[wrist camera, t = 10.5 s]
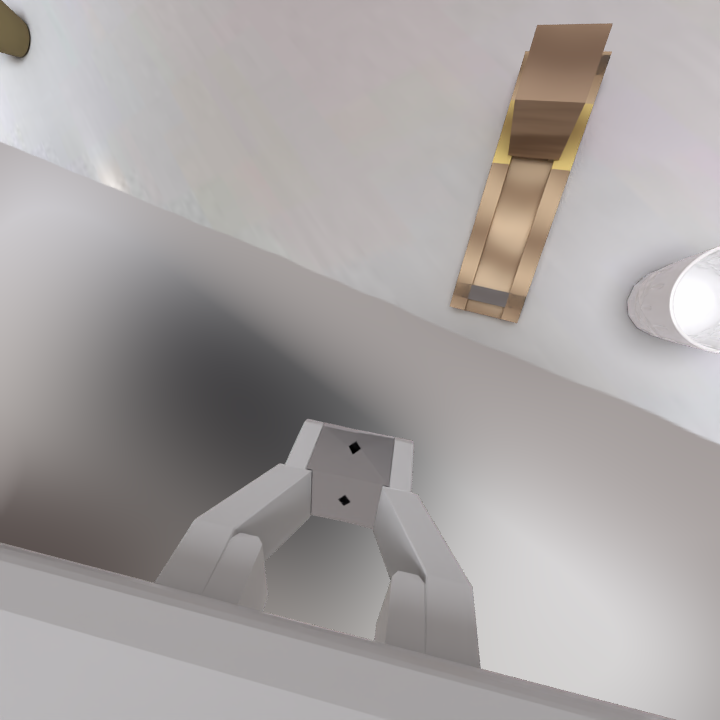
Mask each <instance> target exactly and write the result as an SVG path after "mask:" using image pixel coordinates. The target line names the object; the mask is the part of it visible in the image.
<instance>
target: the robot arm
mask: <svg viewBox="0 0 720 720" xmlns="http://www.w3.org/2000/svg"><path fill="white" fill-rule="evenodd" d="M413 451H414V442H413V440H408V439H403V438H398V437H395V438H394V437H393V436H388V435H383V434H377V433H372V432H367V431H362V430H355V429H351V428H347V427H342V426H338V425H334V424H330V423H324V422H319V421H315V420H310V419H307V420H306V421H305V422H304V424H303V426H302V428H301V431H300V433H299V435H298V437H297V440H296V442H295V444H294V446H293V448H292V450H291V453H290V455H289V457H288V459H287V461H286V463H285V465H284V464H278V465H277V466H275V467H274V468H272V469H271V470H269V471H268V472H266V473H264V474H263V475H262V476H260V477H258V478H257V479H255V480H254V481H252V482H251V483H249V484H248V485H246V486H245V487H243V488H242V489H240V490H239V491H237V492H236V493H234V494H233V495H231V496H230V497H228V498H227V499H225V500H224V501H222V502H220V503H219V504H217V505H216V506H215V507H213V508H211V509H210V510H209V511H207V512H205V513H204V514H202V515H201V516H199V517H198V518H196V519H195V520H194V522H193V523H192V525H191V526H190V528H189V530H188V531H187V532H186V534H185V536H184V537H183V539H182V540H181V542H180V543H179V546H178V547H177V548H176V550H175V551H174V553H173V554H172V556H171V558H170V559H169V561H168V562H167V564H166V565H165V567H164V568H163V570H162V572H161V573H160V575H159V576H158V578H157V579H156V581H155V582H154V583H152V582H148V581H144V580H141V579H137V578H133V577H129V576H126V575H122V574H118V573H114V572H110V571H106V570H103V569H99V568H95V567H91V566H87V565H84V564H79V563H76V562H72V561H68V560H64V559H60V558H57V557H53V556H49V555H45V554H42V553H37V552H34V551H30V550H26V549H22V548H19V547H15V546H11V545H7V544H3V543H0V720H675V719H671V718H667V717H663V716H660V715H656V714H652V713H648V712H644V711H640V710H637V709H632V708H628V707H625V706H621V705H618V704H614V703H610V702H606V701H602V700H599V699H595V698H591V697H587V696H583V695H579V694H576V693H571V692H568V691H564V690H560V689H556V688H553V687H549V686H545V685H541V684H538V683H533V682H529V681H526V680H522V679H518V678H515V677H510V676H507V675H503V674H499V673H495V672H492V671H488V670H484V669H481V668H480V658H479V648H478V638H477V628H476V618H475V608H474V597H473V587H472V585H471V584H470V582H469V580H468V579H467V577H466V576H465V574H464V572H463V570H462V569H461V567H460V565H459V563H458V562H457V560H456V558H455V557H454V555H453V553H452V552H451V550H450V548H449V546H448V545H447V543H446V541H445V540H444V538H443V537H442V535H441V533H440V531H439V530H438V528H437V526H436V525H435V523H434V521H433V520H432V518H431V516H430V514H429V513H428V511H427V509H426V508H425V506H424V504H423V502H422V501H421V499H420V498H419V496H418V494H416V493H412V473H413ZM310 515H315V516H319V517H324V518H330V519H335V520H339V521H344V522H348V523H351V524H355V525H359V526H363V527H367V528H371V529H373V533H374V535H375V538H376V541H377V544H378V547H379V550H380V552H381V555H382V558H383V561H384V563H385V566H386V569H387V572H388V575H389V577H390V580H391V581H390V584H389V587H388V590H387V593H386V596H385V599H384V602H383V605H382V608H381V611H380V613H379V616H378V619H377V622H376V630H375V638H374V640H370V639H366V638H362V637H358V636H355V635H351V634H347V633H343V632H339V631H335V630H332V629H328V628H324V627H320V626H316V625H313V624H309V623H305V622H301V621H297V620H293V619H290V618H285V617H282V616H278V615H274V614H271V613H267V612H263V609H264V606H265V604H266V601H267V598H268V588H267V580H266V571H265V564H264V562H265V561H266V560H267V559H268V558H269V557H270V556H271V555H272V554H273V553H274V552H275V551H276V550H277V549H278V548H279V547H280V546H281V545H282V544H283V543H284V542H285V541H286V540H287V539H288V538H289V537H290V536H291V535H292V534H293V533H294V532H295V531H296V530H297V529H298V528H299V527H300V526H302V524H303V523H305V521H307V520H308V519H309V518H310Z"/></svg>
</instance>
